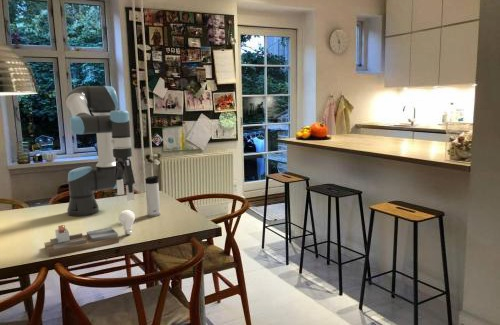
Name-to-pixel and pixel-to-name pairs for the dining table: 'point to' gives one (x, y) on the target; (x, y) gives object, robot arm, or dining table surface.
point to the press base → (82, 241)
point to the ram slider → (62, 235)
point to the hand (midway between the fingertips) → (125, 197)
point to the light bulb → (127, 220)
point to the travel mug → (152, 196)
